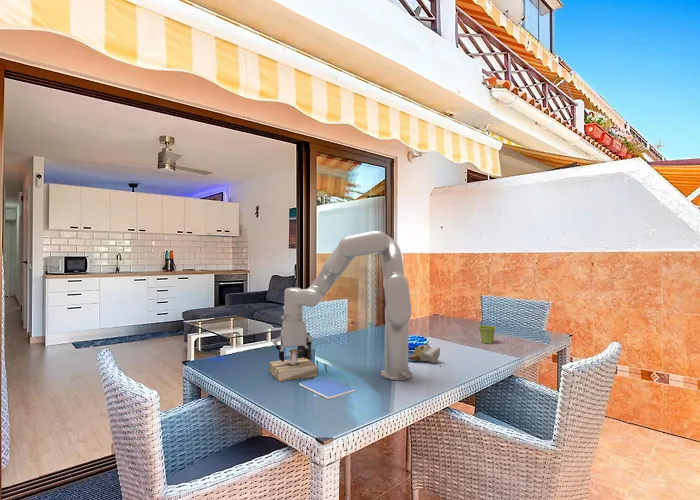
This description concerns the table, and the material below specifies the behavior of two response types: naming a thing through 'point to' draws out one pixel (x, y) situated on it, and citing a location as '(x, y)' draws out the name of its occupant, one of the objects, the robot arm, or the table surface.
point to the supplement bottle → (299, 350)
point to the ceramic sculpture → (425, 354)
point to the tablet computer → (326, 388)
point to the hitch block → (293, 369)
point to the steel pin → (293, 357)
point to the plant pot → (487, 334)
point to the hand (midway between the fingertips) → (293, 359)
